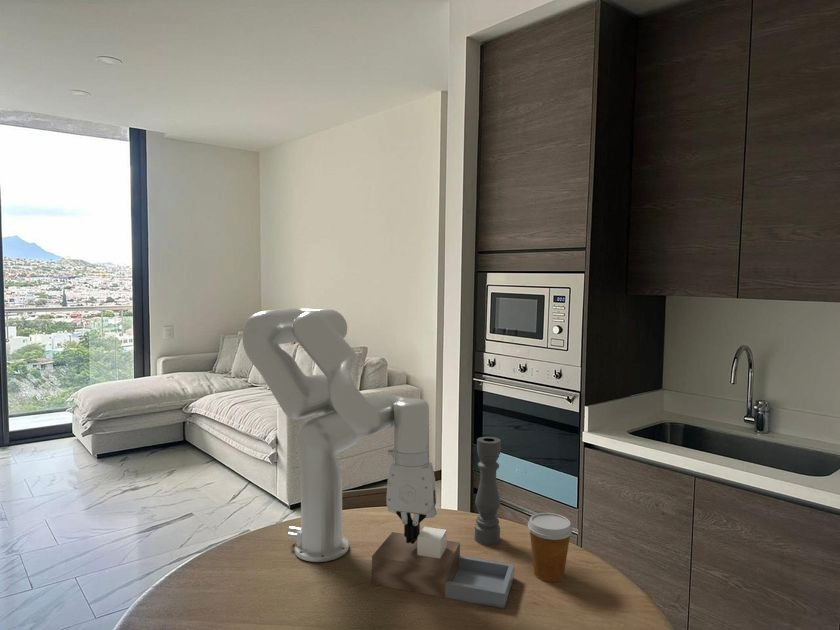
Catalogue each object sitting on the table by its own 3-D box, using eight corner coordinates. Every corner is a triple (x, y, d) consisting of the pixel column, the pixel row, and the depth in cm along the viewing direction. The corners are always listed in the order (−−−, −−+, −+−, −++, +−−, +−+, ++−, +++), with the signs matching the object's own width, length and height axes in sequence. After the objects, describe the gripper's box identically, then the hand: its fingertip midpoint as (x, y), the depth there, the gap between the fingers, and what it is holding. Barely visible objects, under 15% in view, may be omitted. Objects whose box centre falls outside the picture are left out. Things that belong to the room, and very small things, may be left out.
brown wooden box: (371, 583, 119) (371, 556, 119) (392, 557, 130) (392, 531, 130) (445, 597, 114) (445, 568, 114) (459, 568, 126) (460, 542, 125)
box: (445, 597, 114) (445, 583, 114) (459, 568, 126) (459, 555, 125) (504, 608, 110) (504, 593, 110) (513, 578, 122) (514, 564, 122)
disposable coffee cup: (546, 590, 117) (547, 534, 116) (517, 569, 126) (518, 516, 125) (580, 579, 122) (582, 525, 121) (551, 559, 130) (552, 508, 129)
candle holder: (499, 546, 136) (500, 444, 135) (473, 543, 137) (474, 442, 136) (500, 535, 142) (502, 437, 141) (475, 532, 143) (477, 435, 142)
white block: (417, 555, 119) (417, 536, 119) (424, 544, 124) (424, 526, 124) (440, 558, 118) (440, 539, 118) (446, 547, 123) (446, 529, 122)
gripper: (372, 459, 120) (373, 543, 121) (440, 466, 115) (440, 553, 116) (385, 449, 127) (386, 529, 128) (450, 455, 122) (450, 538, 123)
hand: (412, 540), depth 122 cm, fingers closed
